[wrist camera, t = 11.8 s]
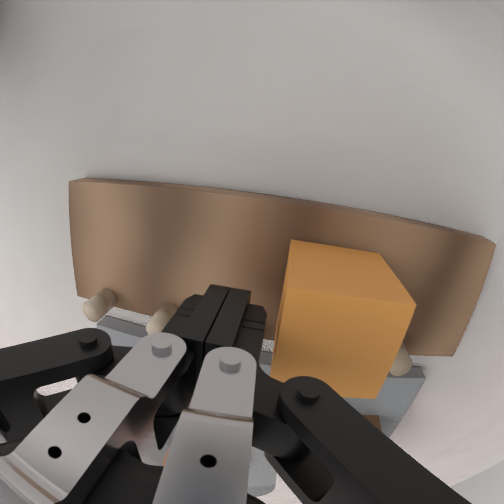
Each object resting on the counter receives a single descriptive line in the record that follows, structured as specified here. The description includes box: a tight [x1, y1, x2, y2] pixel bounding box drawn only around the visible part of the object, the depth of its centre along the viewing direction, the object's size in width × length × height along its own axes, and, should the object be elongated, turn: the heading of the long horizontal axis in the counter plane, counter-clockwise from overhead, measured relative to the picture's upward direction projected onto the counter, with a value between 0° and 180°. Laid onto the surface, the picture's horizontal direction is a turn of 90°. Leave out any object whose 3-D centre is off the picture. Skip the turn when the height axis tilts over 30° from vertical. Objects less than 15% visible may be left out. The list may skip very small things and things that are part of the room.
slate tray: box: [97, 316, 426, 438], centre depth 18 cm, size 8×21×1 cm, turn 84°
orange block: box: [270, 239, 416, 399], centre depth 11 cm, size 4×4×5 cm
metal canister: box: [247, 446, 277, 497], centre depth 14 cm, size 4×4×6 cm
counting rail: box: [69, 178, 496, 376], centre depth 14 cm, size 23×7×3 cm, turn 84°
